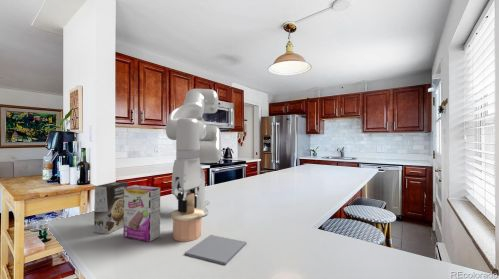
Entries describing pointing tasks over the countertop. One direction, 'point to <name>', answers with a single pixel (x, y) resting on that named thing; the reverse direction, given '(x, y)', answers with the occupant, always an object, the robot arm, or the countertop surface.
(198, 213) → the lid
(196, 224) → the bowl
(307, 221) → the countertop surface
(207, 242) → the mat
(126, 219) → the candy bar box
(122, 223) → the coffee box
